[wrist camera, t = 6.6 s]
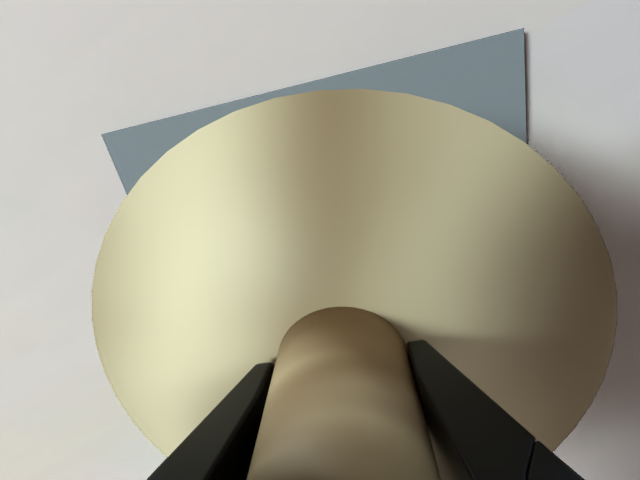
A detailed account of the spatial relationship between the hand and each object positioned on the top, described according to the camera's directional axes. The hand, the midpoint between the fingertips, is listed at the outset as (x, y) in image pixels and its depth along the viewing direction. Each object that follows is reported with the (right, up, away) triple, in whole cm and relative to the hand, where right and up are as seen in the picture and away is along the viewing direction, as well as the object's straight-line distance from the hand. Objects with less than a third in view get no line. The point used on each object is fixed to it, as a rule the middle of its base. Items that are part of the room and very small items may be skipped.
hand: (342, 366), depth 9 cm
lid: (0, 0, +1) cm, 1 cm away
